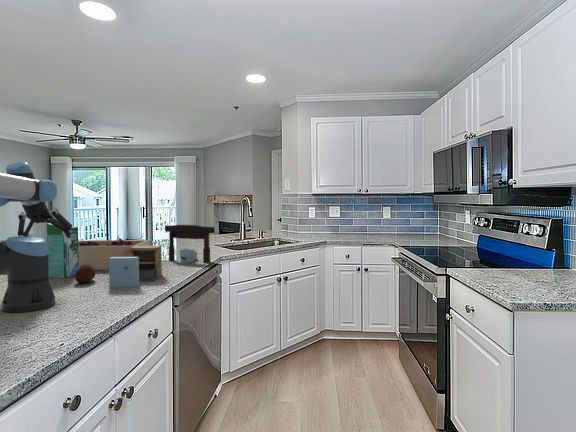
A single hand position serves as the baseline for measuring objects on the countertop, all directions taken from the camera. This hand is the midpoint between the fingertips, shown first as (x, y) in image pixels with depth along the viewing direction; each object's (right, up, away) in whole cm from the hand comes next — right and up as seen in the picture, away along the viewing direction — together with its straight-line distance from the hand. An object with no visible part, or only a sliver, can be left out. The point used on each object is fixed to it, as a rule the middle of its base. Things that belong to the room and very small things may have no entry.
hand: (52, 246), depth 163 cm
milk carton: (-8, -16, +22) cm, 28 cm away
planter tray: (-1, -14, +51) cm, 53 cm away
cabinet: (+32, -16, +17) cm, 40 cm away
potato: (+10, -17, +8) cm, 21 cm away
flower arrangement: (-1, -15, +51) cm, 53 cm away
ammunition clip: (+20, -15, +36) cm, 44 cm away
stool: (+40, -14, +66) cm, 78 cm away
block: (+29, -17, +1) cm, 34 cm away
